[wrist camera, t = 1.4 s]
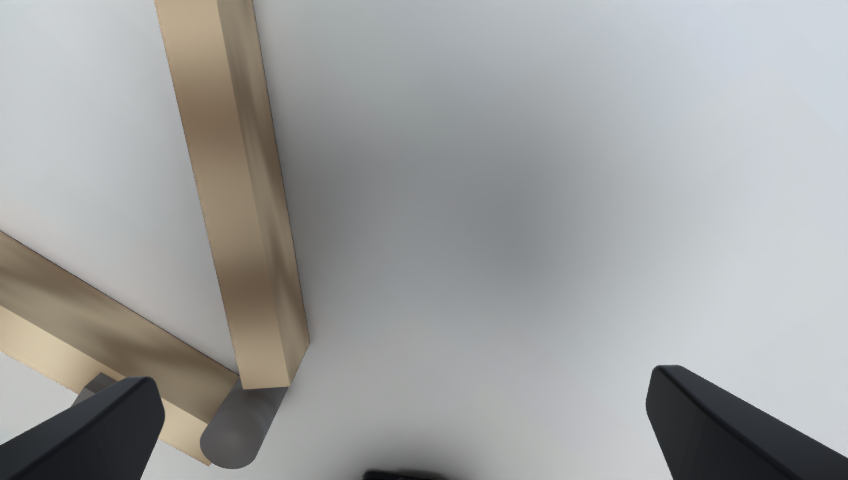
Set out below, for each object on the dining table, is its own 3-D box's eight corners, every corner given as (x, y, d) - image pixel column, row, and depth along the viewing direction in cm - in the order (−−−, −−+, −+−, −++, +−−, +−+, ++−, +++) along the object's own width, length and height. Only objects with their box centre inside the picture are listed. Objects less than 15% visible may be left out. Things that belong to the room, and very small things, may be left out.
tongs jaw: (309, 343, 22) (289, 386, 19) (270, 345, 22) (243, 389, 19) (216, -213, 15) (158, -301, 12) (159, -209, 15) (86, -295, 12)
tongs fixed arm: (297, 376, 23) (268, 441, 18) (258, 425, 23) (222, 498, 19) (-229, 48, 18) (-436, 31, 13) (-253, 124, 19) (-454, 132, 14)
